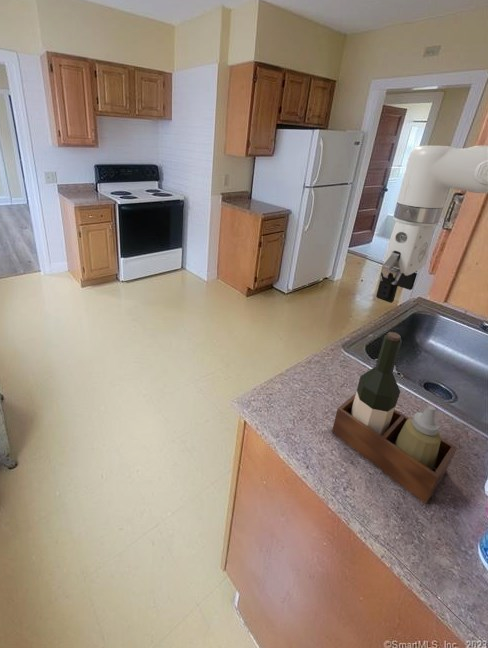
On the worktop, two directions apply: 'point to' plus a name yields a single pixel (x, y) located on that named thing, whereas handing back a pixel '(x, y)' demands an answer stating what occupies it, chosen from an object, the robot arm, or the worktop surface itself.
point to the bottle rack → (392, 452)
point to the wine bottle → (379, 388)
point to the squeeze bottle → (421, 437)
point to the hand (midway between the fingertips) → (394, 293)
